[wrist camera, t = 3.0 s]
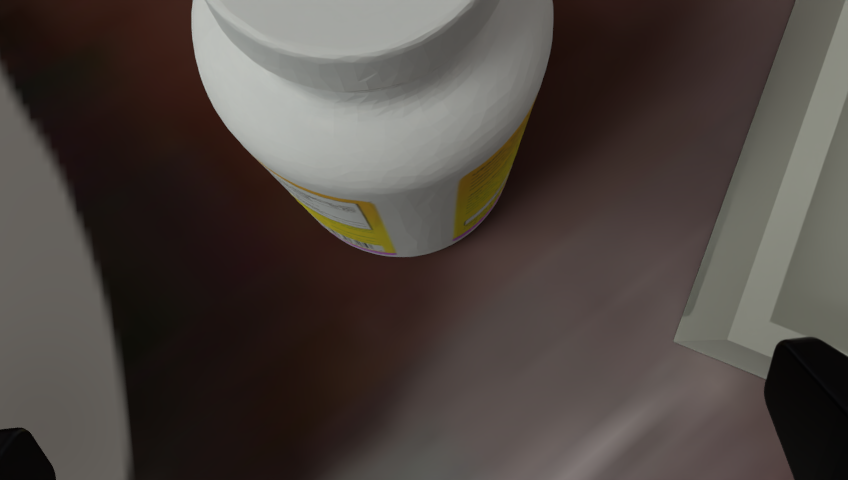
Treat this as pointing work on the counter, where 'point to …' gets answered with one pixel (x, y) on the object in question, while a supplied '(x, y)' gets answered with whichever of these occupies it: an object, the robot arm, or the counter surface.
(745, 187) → the tote
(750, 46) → the counter surface
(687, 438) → the counter surface
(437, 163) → the supplement bottle
